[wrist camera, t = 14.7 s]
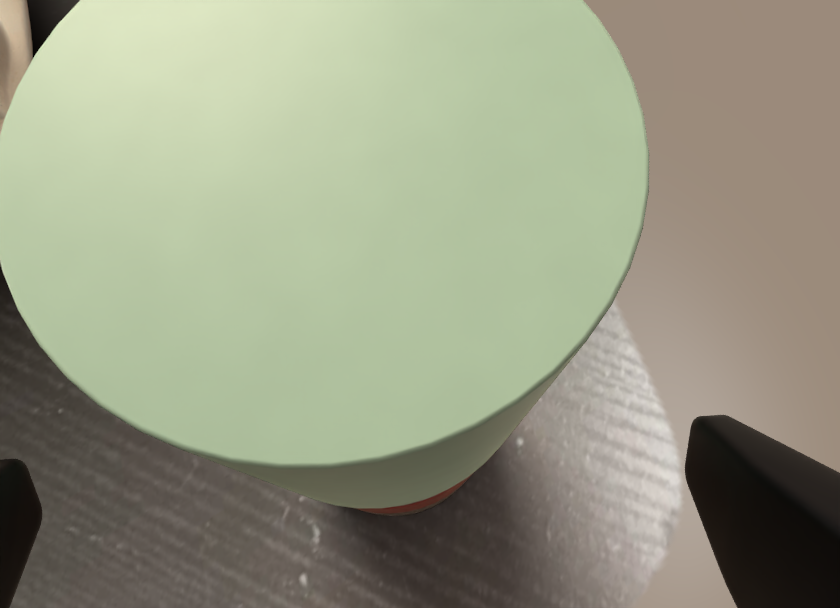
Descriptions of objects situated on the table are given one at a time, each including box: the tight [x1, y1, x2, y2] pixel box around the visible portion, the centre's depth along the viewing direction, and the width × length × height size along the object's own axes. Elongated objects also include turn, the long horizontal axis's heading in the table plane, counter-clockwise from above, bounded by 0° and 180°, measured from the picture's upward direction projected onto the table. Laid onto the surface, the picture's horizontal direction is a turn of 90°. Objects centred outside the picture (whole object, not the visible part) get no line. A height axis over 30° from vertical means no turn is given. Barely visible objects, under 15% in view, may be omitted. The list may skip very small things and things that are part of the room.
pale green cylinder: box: [0, 0, 649, 509], centre depth 10 cm, size 6×6×7 cm
